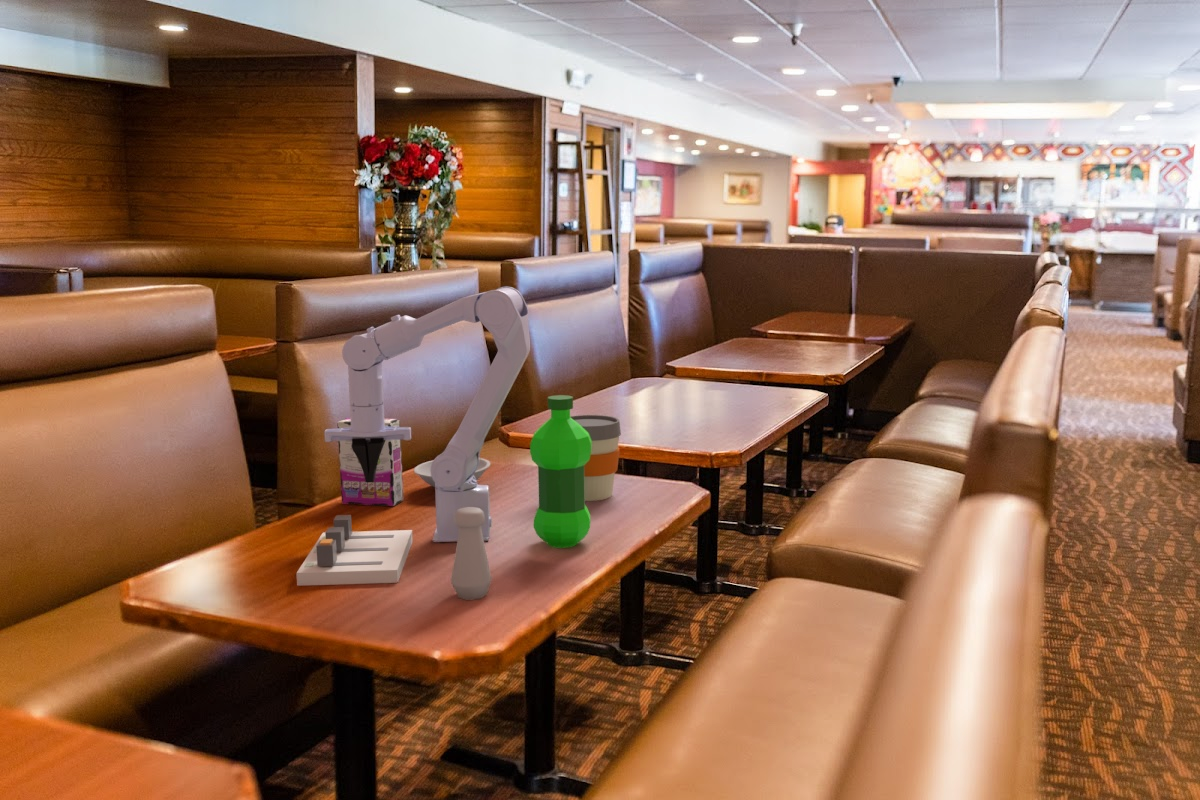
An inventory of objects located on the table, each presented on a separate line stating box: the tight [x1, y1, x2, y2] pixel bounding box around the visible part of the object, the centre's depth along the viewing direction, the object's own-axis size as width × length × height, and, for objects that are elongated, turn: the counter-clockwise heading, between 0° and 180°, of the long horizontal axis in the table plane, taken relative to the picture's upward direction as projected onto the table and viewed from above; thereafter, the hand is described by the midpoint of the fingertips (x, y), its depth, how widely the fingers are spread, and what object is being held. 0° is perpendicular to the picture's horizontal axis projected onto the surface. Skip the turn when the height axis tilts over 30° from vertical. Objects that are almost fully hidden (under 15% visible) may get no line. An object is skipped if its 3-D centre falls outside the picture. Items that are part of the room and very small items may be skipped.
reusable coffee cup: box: [570, 414, 622, 502], centre depth 211 cm, size 13×13×15 cm
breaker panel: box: [296, 529, 414, 586], centre depth 172 cm, size 15×21×2 cm
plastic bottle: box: [529, 394, 592, 549], centre depth 179 cm, size 10×10×25 cm
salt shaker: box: [450, 507, 492, 601], centre depth 156 cm, size 6×6×13 cm
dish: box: [413, 457, 491, 488], centre depth 217 cm, size 18×14×5 cm
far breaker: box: [332, 514, 353, 539], centre depth 178 cm, size 2×3×3 cm
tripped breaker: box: [316, 539, 337, 566], centre depth 165 cm, size 2×3×4 cm
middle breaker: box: [325, 526, 345, 552], centre depth 172 cm, size 2×3×3 cm
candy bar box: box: [337, 417, 404, 507], centre depth 207 cm, size 11×5×16 cm, turn 77°
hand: (370, 481), depth 187 cm, fingers closed
